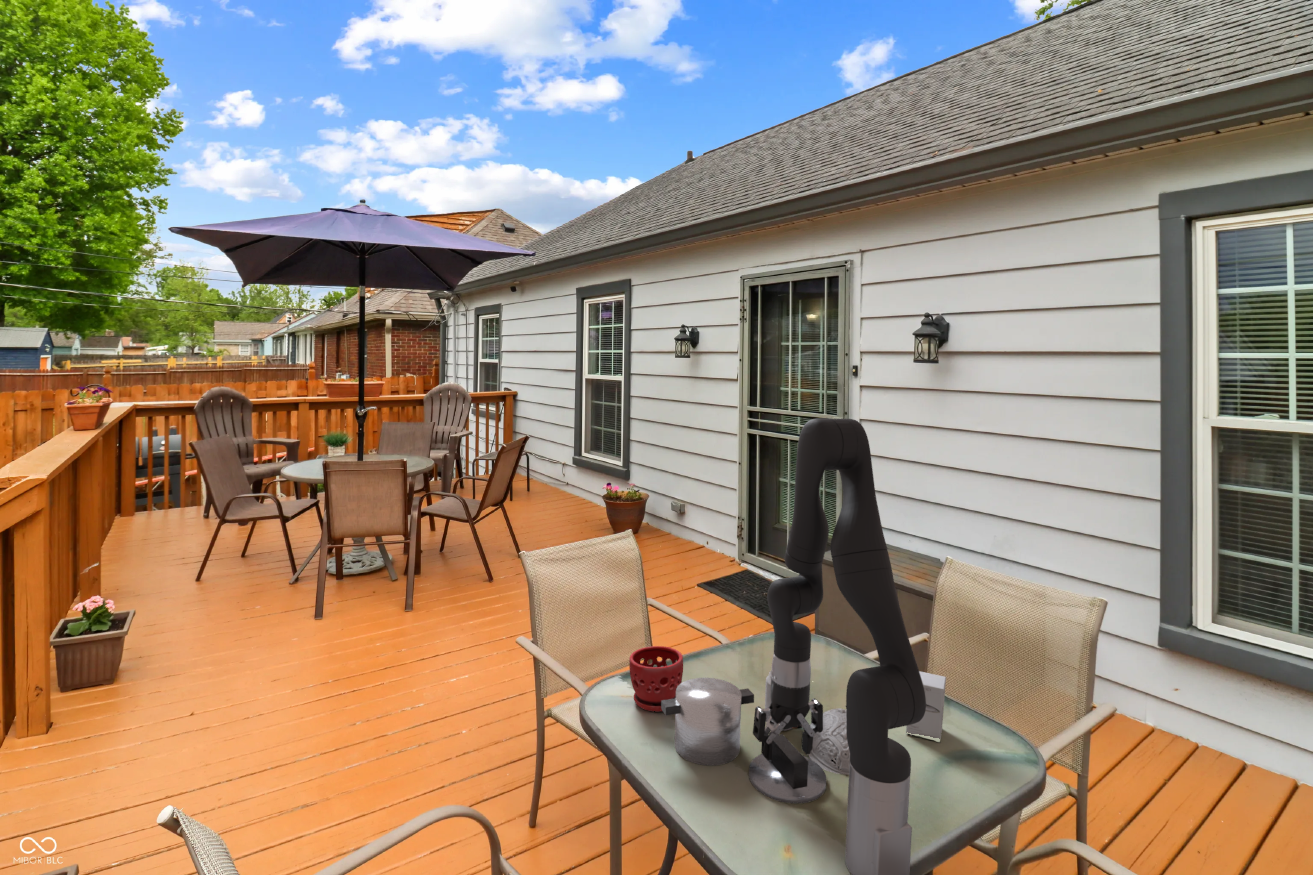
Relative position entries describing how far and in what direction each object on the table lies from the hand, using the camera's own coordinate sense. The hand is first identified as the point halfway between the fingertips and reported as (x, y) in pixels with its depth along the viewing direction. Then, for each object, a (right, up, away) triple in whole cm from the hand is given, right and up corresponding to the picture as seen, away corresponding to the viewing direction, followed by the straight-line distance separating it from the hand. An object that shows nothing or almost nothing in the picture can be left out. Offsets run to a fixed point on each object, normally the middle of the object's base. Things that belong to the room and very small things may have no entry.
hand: (786, 754), depth 127 cm
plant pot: (-26, -2, +29) cm, 39 cm away
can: (+3, -3, +21) cm, 21 cm away
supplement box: (+35, -4, +18) cm, 40 cm away
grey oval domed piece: (+15, -5, +13) cm, 20 cm away
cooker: (-15, -4, +11) cm, 19 cm away
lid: (0, -5, 0) cm, 5 cm away
